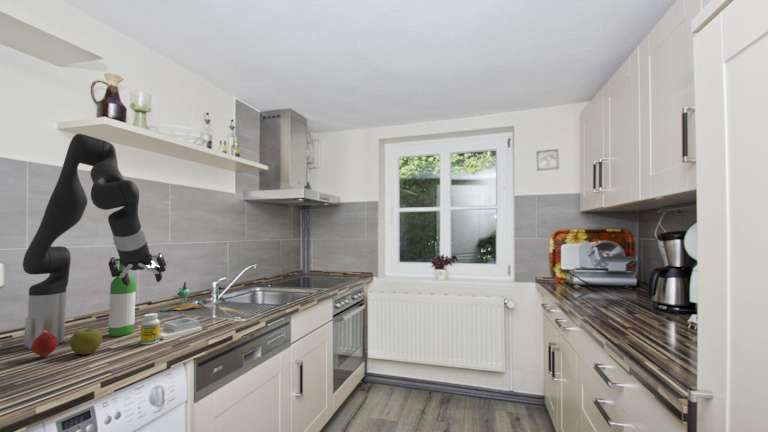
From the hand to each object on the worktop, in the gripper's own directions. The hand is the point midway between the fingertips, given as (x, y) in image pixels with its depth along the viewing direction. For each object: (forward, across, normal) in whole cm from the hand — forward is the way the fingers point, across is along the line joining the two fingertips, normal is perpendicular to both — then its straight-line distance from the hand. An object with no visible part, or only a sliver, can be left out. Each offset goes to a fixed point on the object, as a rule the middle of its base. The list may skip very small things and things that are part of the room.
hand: (143, 282), depth 111 cm
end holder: (+30, -4, -3) cm, 30 cm away
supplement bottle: (+23, +2, +5) cm, 24 cm away
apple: (+19, +17, +9) cm, 27 cm away
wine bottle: (+31, +15, -8) cm, 35 cm away
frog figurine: (+55, 0, -40) cm, 68 cm away
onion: (+18, +28, +8) cm, 34 cm away
